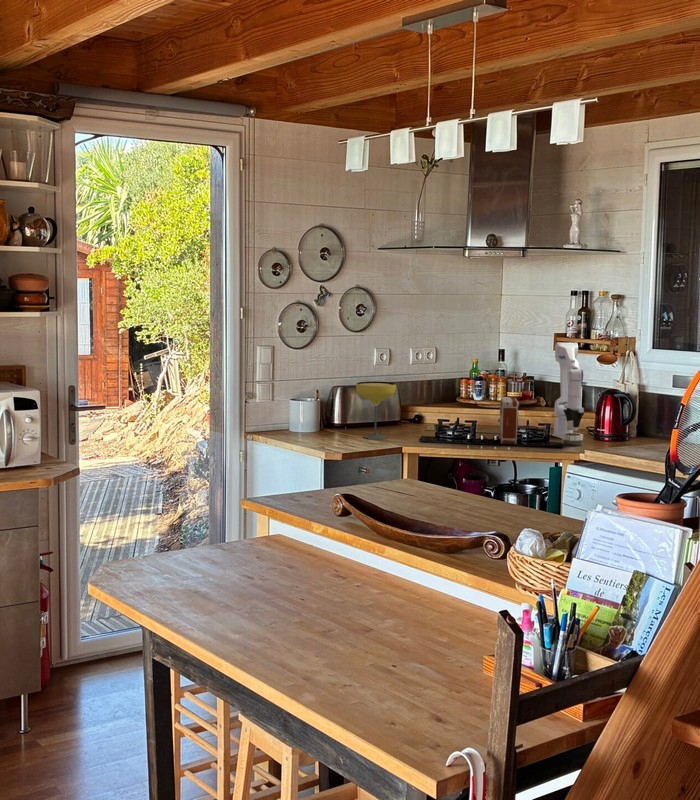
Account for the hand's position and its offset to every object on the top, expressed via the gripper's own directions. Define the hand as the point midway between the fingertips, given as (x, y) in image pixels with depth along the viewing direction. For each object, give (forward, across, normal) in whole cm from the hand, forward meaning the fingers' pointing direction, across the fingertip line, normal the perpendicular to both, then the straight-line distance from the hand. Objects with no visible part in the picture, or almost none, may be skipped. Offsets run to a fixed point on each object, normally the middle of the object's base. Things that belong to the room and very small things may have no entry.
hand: (573, 426), depth 448 cm
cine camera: (+8, -13, -26) cm, 30 cm away
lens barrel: (+8, 0, 0) cm, 8 cm away
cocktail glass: (+8, -35, -82) cm, 89 cm away
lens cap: (+1, 0, 0) cm, 1 cm away
